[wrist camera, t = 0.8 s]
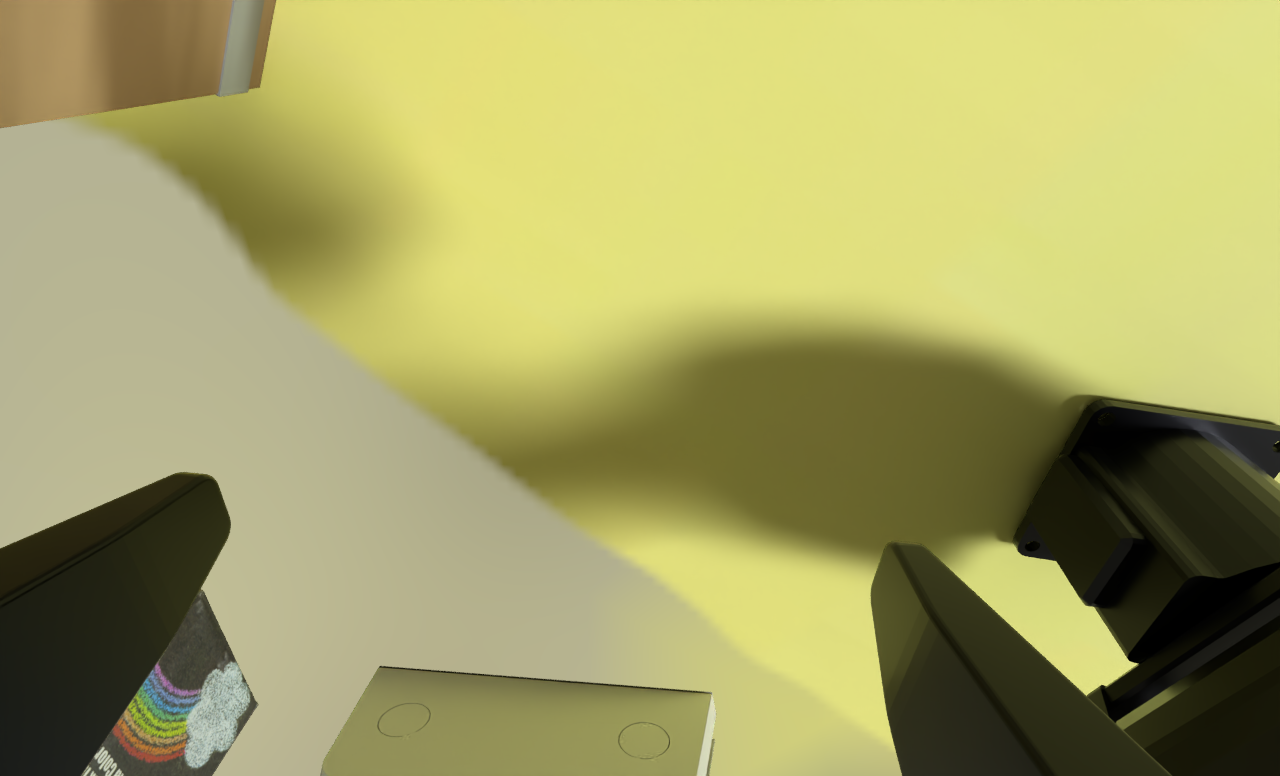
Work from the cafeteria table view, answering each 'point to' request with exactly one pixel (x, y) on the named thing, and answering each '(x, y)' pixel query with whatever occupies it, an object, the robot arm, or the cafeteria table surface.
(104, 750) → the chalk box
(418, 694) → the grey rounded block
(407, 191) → the cafeteria table surface
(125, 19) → the wooden block
